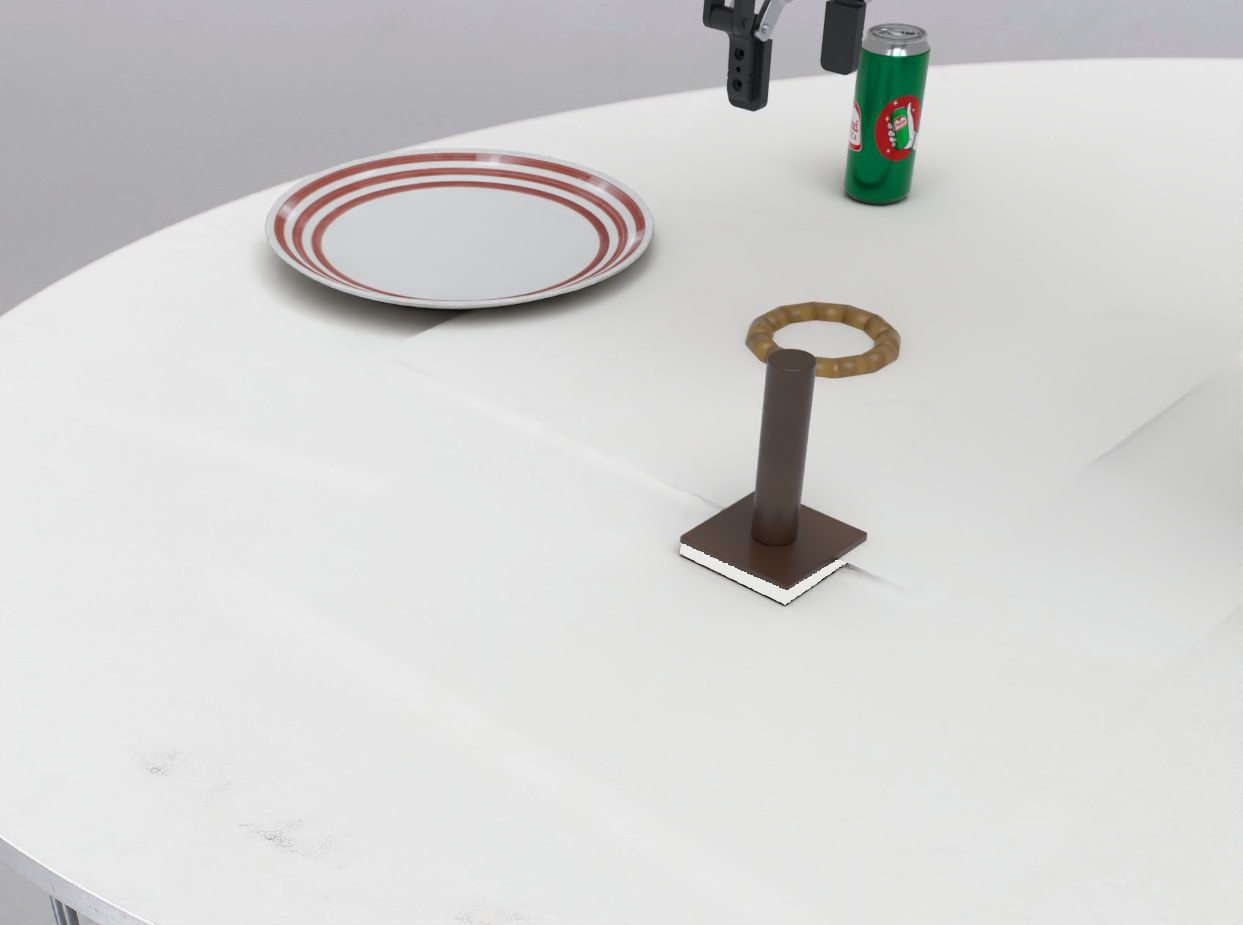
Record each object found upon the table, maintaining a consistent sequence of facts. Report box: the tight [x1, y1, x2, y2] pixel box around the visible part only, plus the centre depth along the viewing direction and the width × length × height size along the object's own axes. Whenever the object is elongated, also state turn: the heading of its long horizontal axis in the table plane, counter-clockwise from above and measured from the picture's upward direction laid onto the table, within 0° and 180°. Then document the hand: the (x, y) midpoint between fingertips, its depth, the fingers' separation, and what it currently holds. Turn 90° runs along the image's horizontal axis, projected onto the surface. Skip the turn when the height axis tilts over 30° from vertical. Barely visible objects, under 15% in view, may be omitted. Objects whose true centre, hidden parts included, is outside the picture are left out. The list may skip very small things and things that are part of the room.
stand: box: [679, 348, 868, 590], centre depth 82 cm, size 7×7×11 cm
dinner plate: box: [264, 147, 655, 310], centre depth 116 cm, size 28×27×3 cm
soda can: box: [843, 22, 932, 205], centre depth 121 cm, size 5×5×12 cm
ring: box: [745, 301, 902, 379], centre depth 104 cm, size 10×10×2 cm
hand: (794, 88), depth 91 cm, fingers open, 8 cm apart
